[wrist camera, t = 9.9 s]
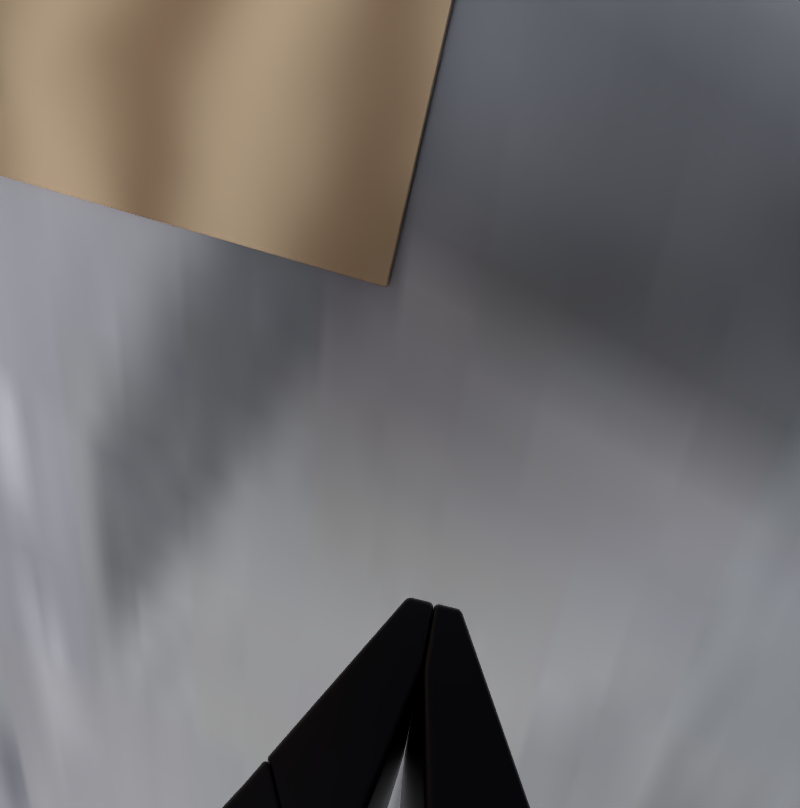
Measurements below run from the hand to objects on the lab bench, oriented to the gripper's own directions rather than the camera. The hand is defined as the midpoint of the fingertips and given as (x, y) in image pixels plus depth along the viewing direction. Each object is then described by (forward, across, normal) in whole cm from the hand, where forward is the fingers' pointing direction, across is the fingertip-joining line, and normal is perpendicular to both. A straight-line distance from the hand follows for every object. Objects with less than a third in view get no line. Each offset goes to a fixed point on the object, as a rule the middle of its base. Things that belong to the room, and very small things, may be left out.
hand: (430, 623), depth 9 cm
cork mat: (+13, +11, -8) cm, 19 cm away
